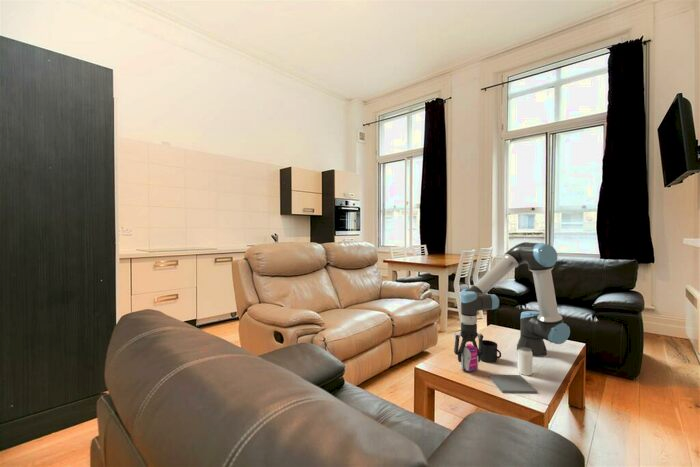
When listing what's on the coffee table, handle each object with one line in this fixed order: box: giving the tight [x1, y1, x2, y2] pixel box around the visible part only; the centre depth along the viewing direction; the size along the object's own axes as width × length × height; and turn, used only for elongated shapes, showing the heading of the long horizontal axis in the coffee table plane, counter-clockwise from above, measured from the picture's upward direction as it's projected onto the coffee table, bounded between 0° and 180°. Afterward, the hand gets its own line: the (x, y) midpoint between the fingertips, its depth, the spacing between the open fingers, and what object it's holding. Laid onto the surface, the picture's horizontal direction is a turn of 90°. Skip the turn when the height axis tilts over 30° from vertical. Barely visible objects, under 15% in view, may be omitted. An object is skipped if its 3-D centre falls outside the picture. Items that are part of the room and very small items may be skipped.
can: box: [516, 347, 533, 377], centre depth 161 cm, size 6×6×12 cm
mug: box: [478, 339, 502, 364], centre depth 176 cm, size 9×12×9 cm
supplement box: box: [462, 343, 478, 372], centre depth 164 cm, size 6×6×12 cm
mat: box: [488, 374, 538, 394], centre depth 149 cm, size 15×15×1 cm
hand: (468, 367), depth 164 cm, fingers closed on supplement box, 7 cm apart
